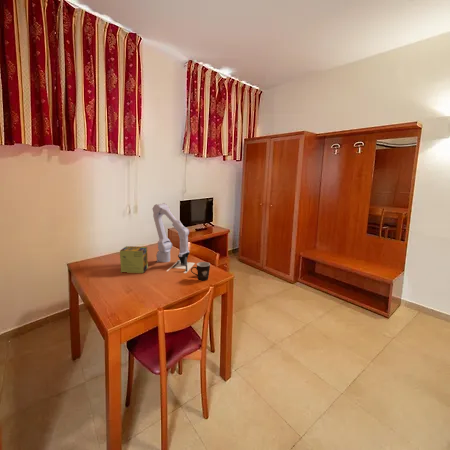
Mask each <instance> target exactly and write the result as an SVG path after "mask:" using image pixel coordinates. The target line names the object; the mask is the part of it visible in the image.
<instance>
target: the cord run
mask: <svg viewBox="0 0 450 450" xmlns="http://www.w3.org/2000/svg"><path fill="white" fill-rule="evenodd" d="M176 262H177V263H176ZM176 262H175V263H176V264H175V263H174V264H175V265H174V264H173V265H174V266H173V265H172V266H173V268H172V269H175V268H174V267H175V266H176V265H177V264H178V263H180V259H177V260H176Z"/></svg>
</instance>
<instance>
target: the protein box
mask: <svg viewBox="0 0 450 450" xmlns="http://www.w3.org/2000/svg"><path fill="white" fill-rule="evenodd" d="M148 257H149V256H148V246H130V245H129V246H127V245H126V246H124V247H123V248H122V249H120V250H119V261H120V262H119V263H120V273H122V272H127V273H126V274H128V273H130V274H144V273H145V272H146V271H147V270H148V268H149V261H148Z"/></svg>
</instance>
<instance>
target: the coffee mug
mask: <svg viewBox="0 0 450 450" xmlns="http://www.w3.org/2000/svg"><path fill="white" fill-rule="evenodd" d="M193 269H196V271H197V272H196V273H195V272H193ZM210 269H211V263H210V262H207V261H200V262H197V263H196V266H192V267H191V268H190V272H191V273H192V274H193V275H195V276H197V278H198V281H200V282H206V281H208V280H209V275H210Z"/></svg>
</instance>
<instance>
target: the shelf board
mask: <svg viewBox="0 0 450 450" xmlns="http://www.w3.org/2000/svg"><path fill="white" fill-rule="evenodd" d="M176 263H177V261H176V262H174V263H173V265H172V266H170V267H169V268H168V269H167V270H166V272H169V271H170V270H171V269H181V270H182V269H183V270H184V271H183V274H187V273H188V272H190V271H191V268H192V267H194V265H195V264H196V263H195V262H191V261H190V262H188V261H187V271H186V266H182V265H181V262H180V263H178V264H177V265H176V266H175V267H174V268H173V266H174V265H175V264H176Z"/></svg>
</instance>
